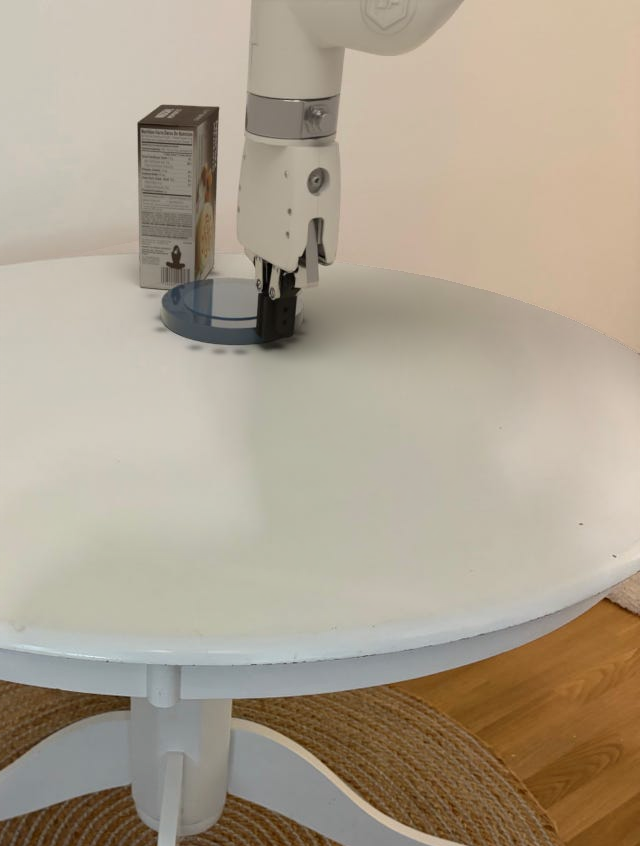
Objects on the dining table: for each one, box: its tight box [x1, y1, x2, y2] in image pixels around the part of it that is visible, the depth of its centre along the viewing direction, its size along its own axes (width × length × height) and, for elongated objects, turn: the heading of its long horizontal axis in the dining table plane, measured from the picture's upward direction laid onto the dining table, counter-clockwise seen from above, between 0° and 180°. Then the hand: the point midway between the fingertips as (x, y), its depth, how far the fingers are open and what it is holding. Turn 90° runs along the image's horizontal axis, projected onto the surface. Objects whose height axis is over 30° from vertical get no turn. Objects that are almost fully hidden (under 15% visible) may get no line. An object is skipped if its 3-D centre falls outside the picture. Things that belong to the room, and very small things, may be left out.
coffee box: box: [136, 104, 220, 291], centre depth 103 cm, size 9×6×16 cm
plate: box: [160, 277, 305, 346], centre depth 98 cm, size 14×14×2 cm
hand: (274, 335), depth 92 cm, fingers closed
